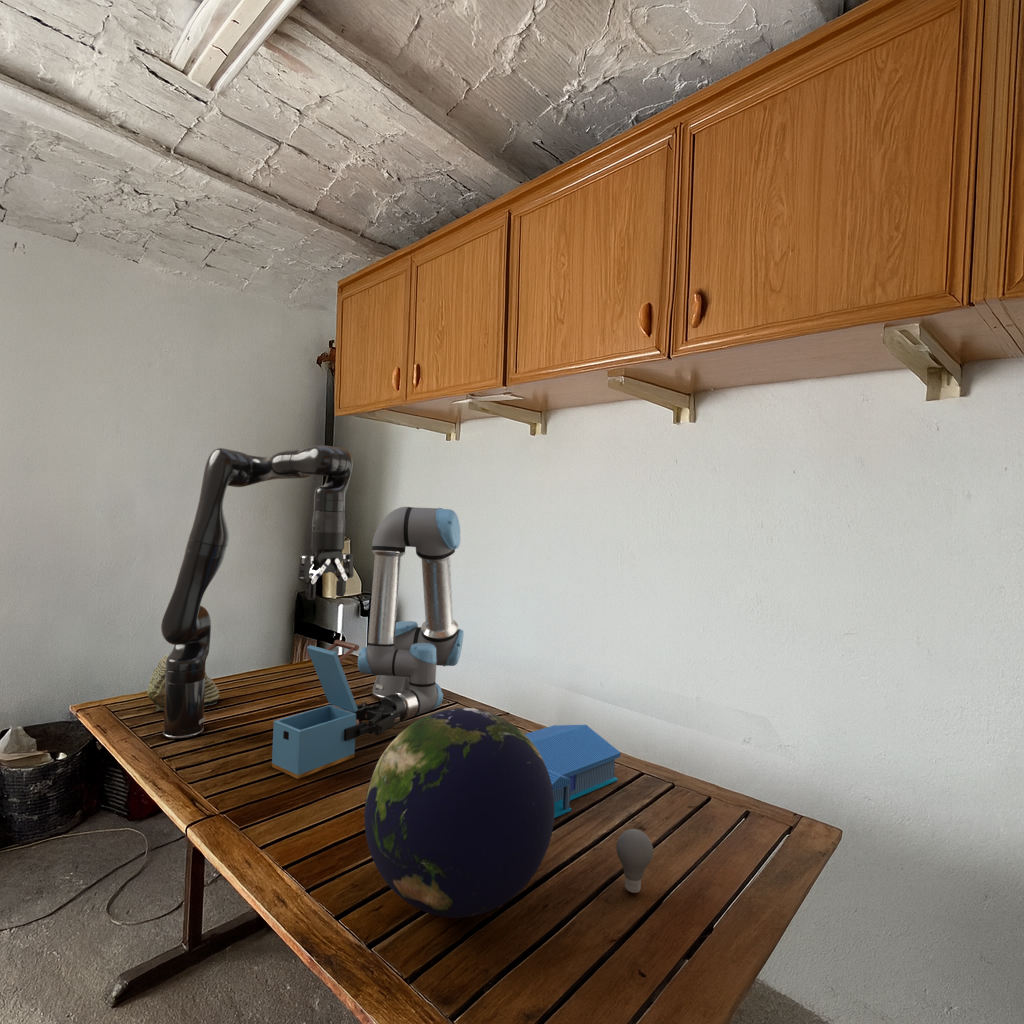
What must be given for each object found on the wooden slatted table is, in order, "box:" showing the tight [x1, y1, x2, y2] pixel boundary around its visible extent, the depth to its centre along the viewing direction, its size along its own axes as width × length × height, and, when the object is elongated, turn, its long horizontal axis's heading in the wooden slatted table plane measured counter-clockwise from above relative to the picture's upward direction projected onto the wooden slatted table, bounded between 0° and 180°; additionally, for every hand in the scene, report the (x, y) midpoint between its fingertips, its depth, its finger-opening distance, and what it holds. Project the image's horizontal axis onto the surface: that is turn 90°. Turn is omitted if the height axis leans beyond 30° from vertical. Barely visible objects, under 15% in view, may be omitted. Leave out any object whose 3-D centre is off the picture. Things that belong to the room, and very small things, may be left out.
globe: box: [363, 707, 555, 919], centre depth 101 cm, size 30×30×30 cm
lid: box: [306, 639, 360, 712], centre depth 157 cm, size 17×10×8 cm
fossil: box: [147, 654, 221, 712], centre depth 185 cm, size 9×18×15 cm, turn 132°
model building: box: [524, 724, 622, 819], centre depth 141 cm, size 39×24×10 cm, turn 132°
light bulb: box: [615, 828, 654, 894], centre depth 106 cm, size 6×6×10 cm
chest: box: [271, 704, 356, 780], centre depth 151 cm, size 16×10×11 cm, turn 145°
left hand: (325, 597), depth 151 cm, fingers open, 8 cm apart
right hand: (330, 729), depth 155 cm, fingers closed on chest, 10 cm apart
